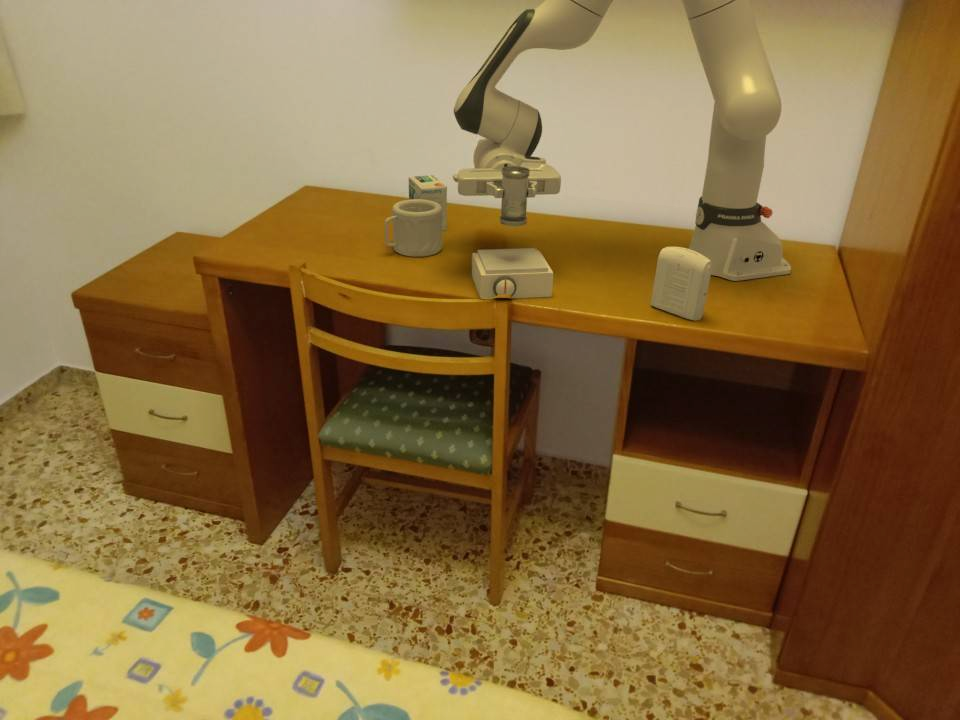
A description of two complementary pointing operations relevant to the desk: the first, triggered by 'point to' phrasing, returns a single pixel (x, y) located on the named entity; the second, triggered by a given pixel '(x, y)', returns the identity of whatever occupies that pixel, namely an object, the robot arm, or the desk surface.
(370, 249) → the desk surface
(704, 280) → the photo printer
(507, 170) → the glass jar
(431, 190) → the light bulb box
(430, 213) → the mug
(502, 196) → the robot arm
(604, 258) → the desk surface
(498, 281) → the scale
